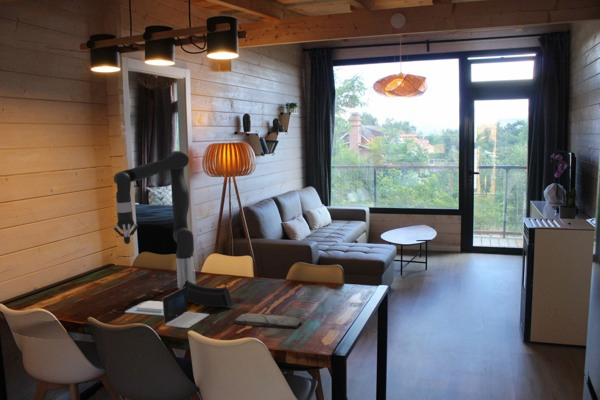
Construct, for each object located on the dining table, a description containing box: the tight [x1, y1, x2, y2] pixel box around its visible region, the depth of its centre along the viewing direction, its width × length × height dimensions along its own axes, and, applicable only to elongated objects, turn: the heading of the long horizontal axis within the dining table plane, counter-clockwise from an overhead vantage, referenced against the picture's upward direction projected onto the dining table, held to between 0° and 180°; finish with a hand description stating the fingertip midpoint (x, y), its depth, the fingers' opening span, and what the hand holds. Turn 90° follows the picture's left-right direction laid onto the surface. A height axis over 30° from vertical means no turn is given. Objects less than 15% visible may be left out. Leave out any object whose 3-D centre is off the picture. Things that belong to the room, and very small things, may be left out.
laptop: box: [162, 287, 210, 329], centre depth 240 cm, size 18×12×13 cm
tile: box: [137, 300, 163, 312], centre depth 258 cm, size 2×10×14 cm
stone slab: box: [234, 313, 303, 330], centre depth 235 cm, size 10×3×30 cm
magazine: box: [182, 280, 233, 308], centre depth 261 cm, size 17×3×30 cm
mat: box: [124, 301, 164, 317], centre depth 259 cm, size 21×16×1 cm
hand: (127, 243), depth 274 cm, fingers closed
